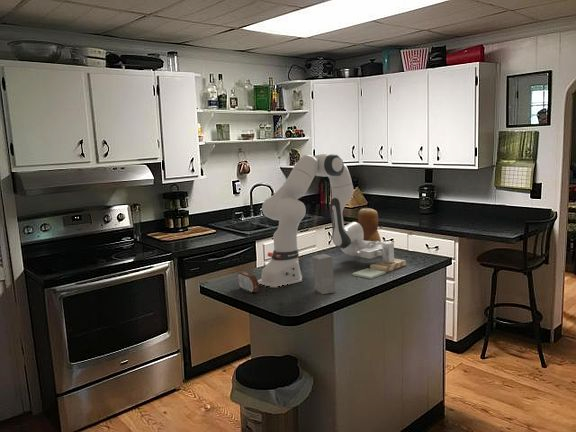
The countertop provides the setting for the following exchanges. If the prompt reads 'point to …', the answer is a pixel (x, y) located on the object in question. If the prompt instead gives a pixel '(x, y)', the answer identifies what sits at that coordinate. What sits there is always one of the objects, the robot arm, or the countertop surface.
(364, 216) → the butternut squash
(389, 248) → the white rectangular block
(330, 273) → the skincare box
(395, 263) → the plane body
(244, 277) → the brown white rounded block
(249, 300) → the countertop surface
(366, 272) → the green mat
